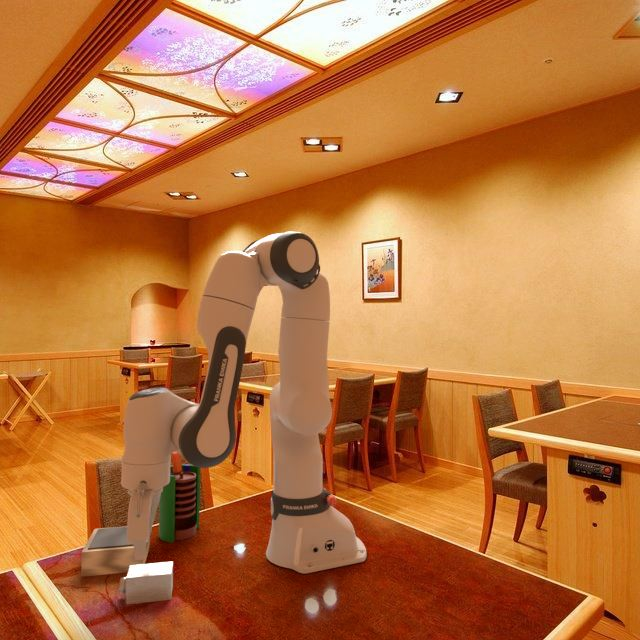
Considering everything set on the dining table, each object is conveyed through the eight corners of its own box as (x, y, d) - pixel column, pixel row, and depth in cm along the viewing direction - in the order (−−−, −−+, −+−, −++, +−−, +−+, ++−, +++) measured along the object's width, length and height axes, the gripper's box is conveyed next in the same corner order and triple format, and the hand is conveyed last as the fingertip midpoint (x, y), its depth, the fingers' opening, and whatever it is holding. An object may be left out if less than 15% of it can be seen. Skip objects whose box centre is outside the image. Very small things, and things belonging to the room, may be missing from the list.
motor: (185, 543, 119) (185, 458, 119) (150, 540, 121) (151, 456, 121) (203, 526, 129) (204, 448, 129) (171, 524, 131) (171, 446, 131)
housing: (172, 586, 100) (173, 561, 100) (171, 600, 95) (171, 573, 95) (122, 591, 98) (122, 566, 98) (117, 606, 93) (118, 578, 93)
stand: (149, 546, 118) (149, 523, 118) (143, 570, 106) (143, 545, 106) (94, 550, 115) (94, 527, 115) (81, 576, 104) (81, 550, 104)
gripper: (158, 491, 87) (154, 572, 87) (167, 459, 107) (165, 525, 107) (119, 492, 86) (115, 574, 86) (136, 460, 106) (133, 527, 106)
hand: (143, 547), depth 97 cm, fingers open, 8 cm apart
